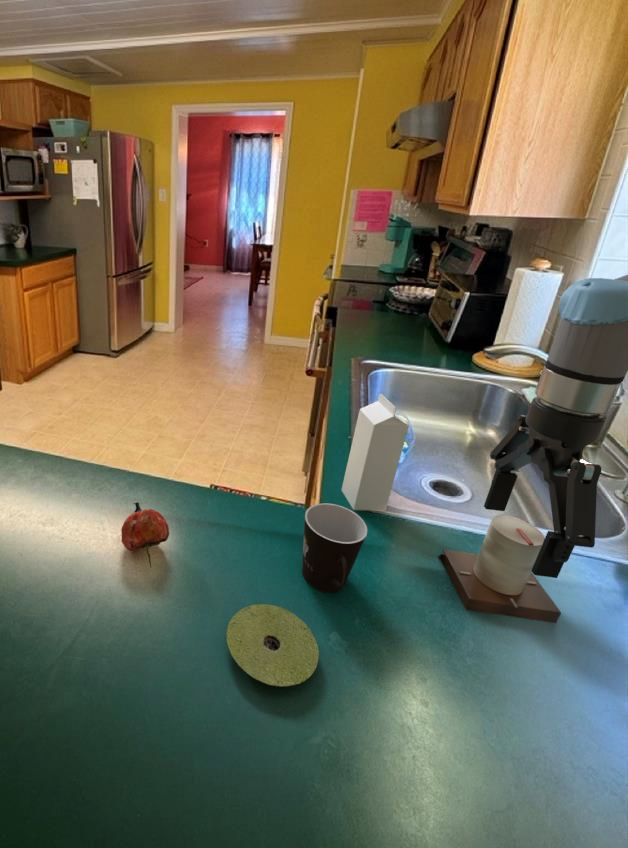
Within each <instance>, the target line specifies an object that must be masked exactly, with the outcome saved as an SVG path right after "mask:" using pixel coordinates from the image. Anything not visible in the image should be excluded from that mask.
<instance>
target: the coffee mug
mask: <svg viewBox="0 0 628 848" xmlns="http://www.w3.org/2000/svg"><path fill="white" fill-rule="evenodd" d="M367 535H368V525H367V524H366V523H365V521H364V519H363V518H362V517H361V516H360V515H359V514H357V513H356V512H354V510H351V509H349V508H347V507H345V506H342V505H339V504H335V503H326V502H325V503H323V502H322V503H317V504H313V505H311V506H309V507H308V508H307V509H306V511H305V513H304V525H303V544H302V562H301V563H302V564H301V574H302V577H303V578H304V580H305V582H306V583H307V584H309V586H311V587H313V588H314V589H316V590H318V591H320V592H324V593H337V592H340V591H341V590H343V589H344V587H346V586H347V583H348V578H349V575H350V574H351V571H352V569H353V567H354V565H355V562H356V560H357V559H358V556H359V553H360V551H361V549H362V546H363V544H364V543H365V540H366V537H367Z"/></svg>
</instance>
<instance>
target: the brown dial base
mask: <svg viewBox="0 0 628 848" xmlns="http://www.w3.org/2000/svg"><path fill="white" fill-rule="evenodd" d="M442 552H443V553H441V554H440V556H439V560H440V562H441V564H442V566H443V569H444V570H445V572H446V574H447V576H448V578H449V580H450V582H451V583H452V586H453V587H454V590H455V592H456V593H457V595H458V597H459V600H460V601H461V603H462V605H463V607H464V609H465V610H469V611H475V612H480V613H481V612H482V613H488V614H494V615H495V614H496V615H501V616H507V617H508V616H509V617H513V618H521V619H525V620H526V619H528V620H533V621H540V622H547V623H553V624H556V623H557V622H558V620H559V618H560V616H561V614H562V612H561V610H560V609H559V608H558V607H557V605H556V604H555V602H554V600H552V598H551V596H549V594H548V593H547V591H546V590H545V588H544V587H543V586H542V584H541V583H540V582H539V580H538V579H537V578H536V575H534V574H533V573H532V572H531V574H530V576H529V579H528V581H527V583H526V585H525V588H524V590H523V592H522V593H521V594H519V595H506V594H502V593H499V592H497V591H495V590H493V589H491V588H489V587H487V586H486V585H485V584H483V583H482V582H481V581H480V580H479V579H478V578H477V577H476V575H475V573H474V570H473V567H474V565H475V562H476V559H477V557H478V554H479V553H474V552H466V551H459V550H452V549H445V548H443V549H442Z"/></svg>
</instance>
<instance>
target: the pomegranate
mask: <svg viewBox="0 0 628 848" xmlns="http://www.w3.org/2000/svg"><path fill="white" fill-rule="evenodd" d="M133 505H135V510H134V512H132V513H131V514H130V515H129V516H127V517H126V519H125V520H124V522H123V524H122V526H121V530H120V531H121V543H122V545H123V546H124V548H125V549H126V550H127V551H128V552H130V553H134V552H138V551H140V549H145V551H146V554H147V557H148V562H149V567H150V568H152V562H151V554H150V552H149V548H152V547H156V546H159V545H160V544H161V543H164V542H167V541H168V539H169V536H170V527H169V524H168V522H167V520H166V518H165V517H164V516H163V514H161V513H160V512H159V511H157V510H155V509H152V508H149V509H146V508H145V509H141V508H142V507H141V506H140V502H138V501H137V502H133Z"/></svg>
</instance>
